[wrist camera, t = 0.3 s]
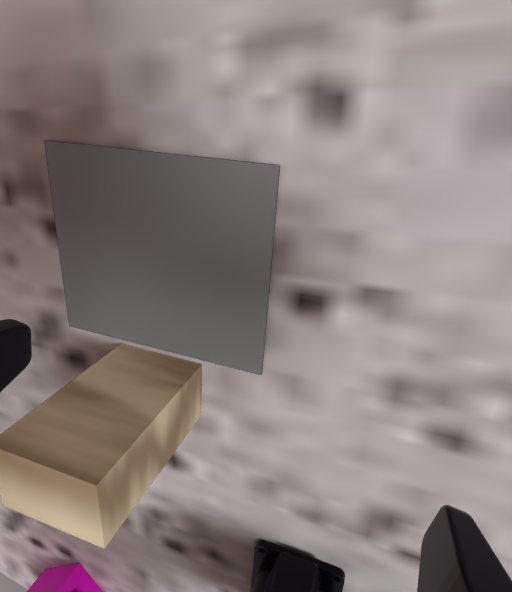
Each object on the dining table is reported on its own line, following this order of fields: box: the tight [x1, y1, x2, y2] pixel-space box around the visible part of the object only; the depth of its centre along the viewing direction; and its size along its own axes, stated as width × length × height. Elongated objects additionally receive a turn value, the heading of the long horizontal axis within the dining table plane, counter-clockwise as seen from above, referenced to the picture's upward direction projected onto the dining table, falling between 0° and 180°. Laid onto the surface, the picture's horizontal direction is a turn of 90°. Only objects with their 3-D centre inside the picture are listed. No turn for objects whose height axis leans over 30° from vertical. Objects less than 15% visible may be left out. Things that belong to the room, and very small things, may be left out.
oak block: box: [0, 344, 202, 549], centre depth 23 cm, size 4×6×10 cm, turn 86°
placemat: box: [44, 141, 280, 375], centre depth 24 cm, size 12×14×1 cm
